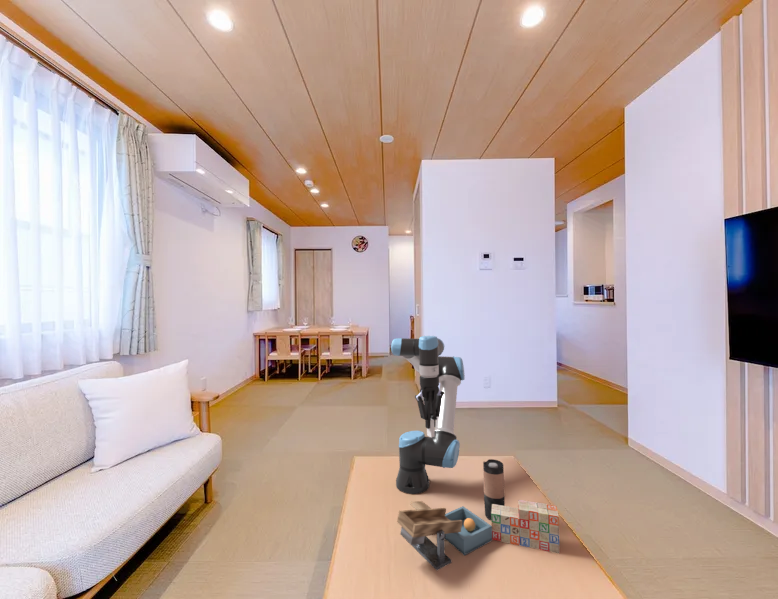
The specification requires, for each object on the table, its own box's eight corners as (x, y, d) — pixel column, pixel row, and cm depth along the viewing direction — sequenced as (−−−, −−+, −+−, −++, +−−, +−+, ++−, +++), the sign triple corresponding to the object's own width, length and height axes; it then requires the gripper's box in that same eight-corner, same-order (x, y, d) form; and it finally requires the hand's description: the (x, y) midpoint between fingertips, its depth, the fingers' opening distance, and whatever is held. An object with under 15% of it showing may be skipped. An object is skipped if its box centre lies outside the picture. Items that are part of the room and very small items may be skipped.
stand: (436, 570, 105) (435, 537, 105) (410, 544, 117) (409, 514, 117) (451, 562, 108) (450, 530, 108) (424, 537, 120) (423, 508, 120)
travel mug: (506, 523, 127) (504, 468, 127) (485, 521, 128) (483, 467, 129) (503, 511, 134) (502, 459, 135) (483, 509, 136) (482, 458, 136)
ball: (459, 522, 122) (466, 513, 124) (464, 530, 123) (471, 521, 125) (467, 528, 119) (475, 519, 120) (472, 536, 120) (479, 527, 121)
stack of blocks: (491, 540, 118) (490, 504, 118) (492, 529, 124) (491, 494, 124) (560, 554, 111) (559, 515, 111) (557, 541, 117) (556, 505, 117)
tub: (464, 555, 111) (463, 540, 111) (436, 531, 123) (436, 517, 123) (492, 540, 118) (491, 525, 118) (463, 519, 129) (463, 506, 130)
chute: (411, 548, 103) (415, 525, 104) (379, 515, 120) (382, 495, 121) (459, 541, 113) (462, 521, 114) (423, 512, 130) (426, 494, 131)
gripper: (421, 379, 128) (423, 443, 127) (448, 375, 134) (449, 435, 134) (410, 376, 134) (411, 436, 134) (436, 372, 141) (437, 429, 140)
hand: (430, 435), depth 134 cm, fingers closed
